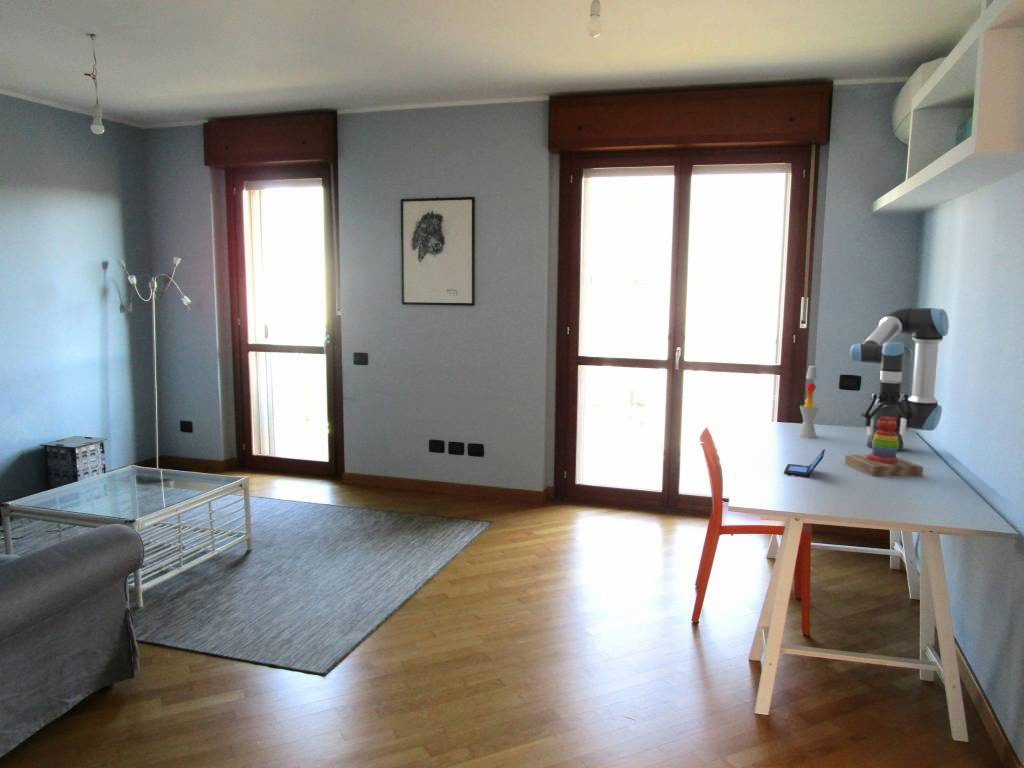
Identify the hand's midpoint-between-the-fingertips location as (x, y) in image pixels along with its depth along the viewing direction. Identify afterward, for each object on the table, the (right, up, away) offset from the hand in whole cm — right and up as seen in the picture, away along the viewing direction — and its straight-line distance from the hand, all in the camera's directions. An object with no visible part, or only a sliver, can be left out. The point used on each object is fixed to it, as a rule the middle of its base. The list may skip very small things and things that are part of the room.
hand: (885, 434), depth 281 cm
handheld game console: (-35, -15, -6) cm, 38 cm away
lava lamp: (-2, -6, +70) cm, 70 cm away
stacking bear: (0, -11, +1) cm, 11 cm away
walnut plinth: (-1, -14, +2) cm, 14 cm away
